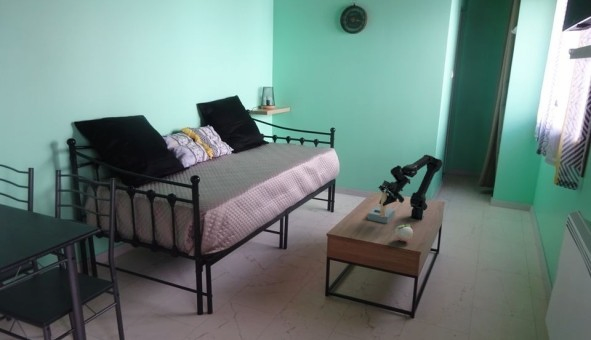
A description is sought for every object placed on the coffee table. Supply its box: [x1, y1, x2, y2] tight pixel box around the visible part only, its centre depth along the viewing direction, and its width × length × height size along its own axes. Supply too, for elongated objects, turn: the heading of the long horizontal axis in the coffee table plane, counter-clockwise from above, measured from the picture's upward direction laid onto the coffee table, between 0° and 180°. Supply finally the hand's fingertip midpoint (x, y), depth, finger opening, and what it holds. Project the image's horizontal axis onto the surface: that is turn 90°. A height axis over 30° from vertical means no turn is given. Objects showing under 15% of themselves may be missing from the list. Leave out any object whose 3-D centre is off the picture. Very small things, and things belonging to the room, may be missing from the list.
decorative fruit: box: [394, 224, 414, 242], centre depth 211 cm, size 9×8×10 cm
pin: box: [380, 192, 387, 217], centre depth 231 cm, size 3×3×14 cm
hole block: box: [367, 205, 396, 224], centre depth 246 cm, size 12×16×4 cm
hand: (381, 204), depth 230 cm, fingers closed on pin, 3 cm apart
